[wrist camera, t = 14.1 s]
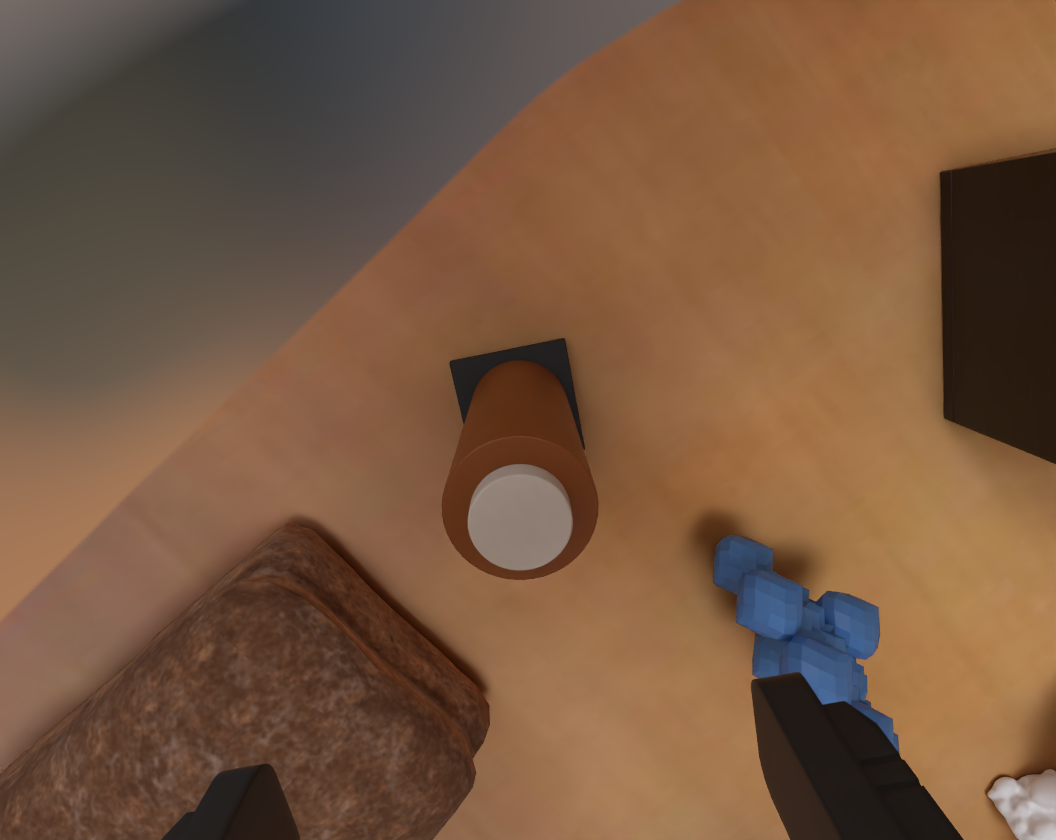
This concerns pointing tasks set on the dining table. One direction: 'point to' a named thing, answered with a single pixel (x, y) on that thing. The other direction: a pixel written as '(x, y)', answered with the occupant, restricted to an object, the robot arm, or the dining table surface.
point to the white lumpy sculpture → (1028, 804)
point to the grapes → (801, 627)
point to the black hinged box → (1001, 300)
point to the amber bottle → (519, 477)
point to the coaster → (543, 353)
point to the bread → (264, 715)
